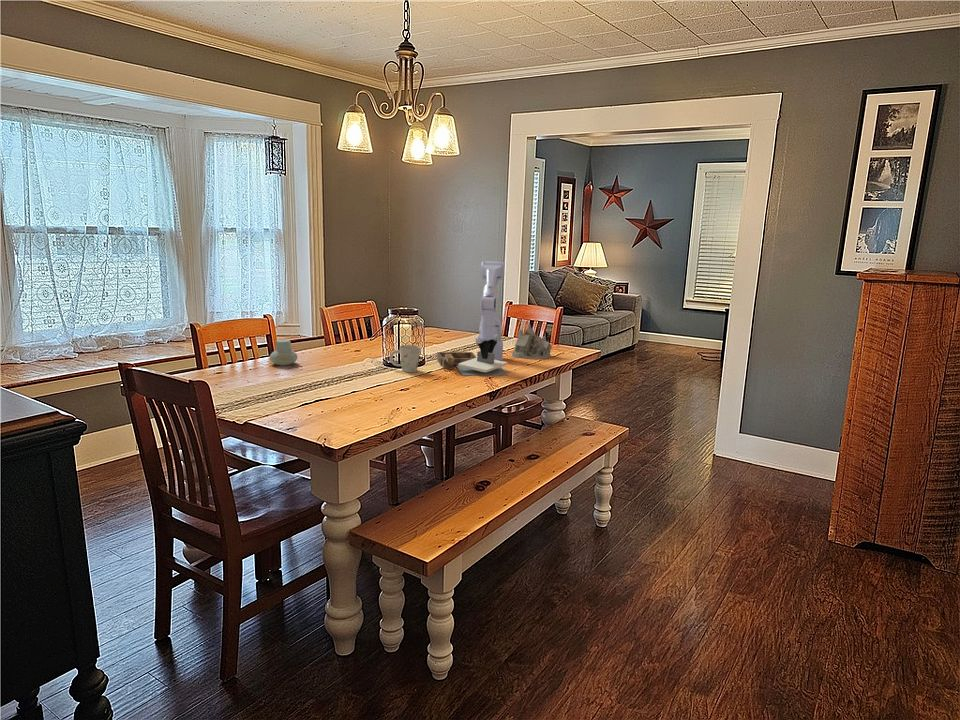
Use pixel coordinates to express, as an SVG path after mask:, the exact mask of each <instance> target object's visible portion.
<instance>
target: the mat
mask: <svg viewBox="0 0 960 720" xmlns="http://www.w3.org/2000/svg"><path fill="white" fill-rule="evenodd" d="M455 367H456V368H457V370H458V371H459V373H460V375H461V376H463V377H465V376H468V377H469V376H473V377H474V376H475V377H476V376H477V377H478V376H481V377H482V376H509V374H508V372H506V370H504V369H503V366H502V367H499V368H497V369H494V370H491V371H489V372H481V371H476V370H472V369H467V368H463V367H460V366H458V365H456V366H455Z"/></svg>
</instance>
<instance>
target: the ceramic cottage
mask: <svg viewBox="0 0 960 720" xmlns="http://www.w3.org/2000/svg"><path fill="white" fill-rule="evenodd" d="M552 348H553V347H552V344H551V343H550V341H547V337H546V336H543V337H542V336H538V335H536V333H535V331H534V329H533V328H532V326H531V323H527V325H526V330H525V331H524V330H523V328H519V330H518V333H517V338H516V342H515V344H514V350H512V353H511V354H512V355H511V357H512V358H519V359H525V360H526V359H531V360H534V359H536V360H537V359H538V360H541V359H542V360H544V359H545V360H546V359H549V358H551V357H552V356H551V351H552V350H551V349H552Z"/></svg>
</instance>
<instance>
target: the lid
mask: <svg viewBox="0 0 960 720" xmlns="http://www.w3.org/2000/svg"><path fill="white" fill-rule="evenodd" d="M476 354H477V355H476V357H477V358H474V359H471V360H468V361H465V362H462V363H459V364H458V366H460V367H463V368H467V369H472V370H476V371H481V372H489V371H491V370H494V369H497V368H499V367H502V368H503V367H505V366H507V365H508V362H507V361H503V360H494V356H495V354H493V353H489V352H488V357H487V359H483V358H482V355H481V351H480V350H479V351H477V353H476Z"/></svg>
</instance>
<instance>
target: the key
mask: <svg viewBox="0 0 960 720" xmlns="http://www.w3.org/2000/svg"><path fill="white" fill-rule="evenodd" d="M445 359H446V361H447V362H448V363H454V358H453V356H452V355H451V354H445Z"/></svg>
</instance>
